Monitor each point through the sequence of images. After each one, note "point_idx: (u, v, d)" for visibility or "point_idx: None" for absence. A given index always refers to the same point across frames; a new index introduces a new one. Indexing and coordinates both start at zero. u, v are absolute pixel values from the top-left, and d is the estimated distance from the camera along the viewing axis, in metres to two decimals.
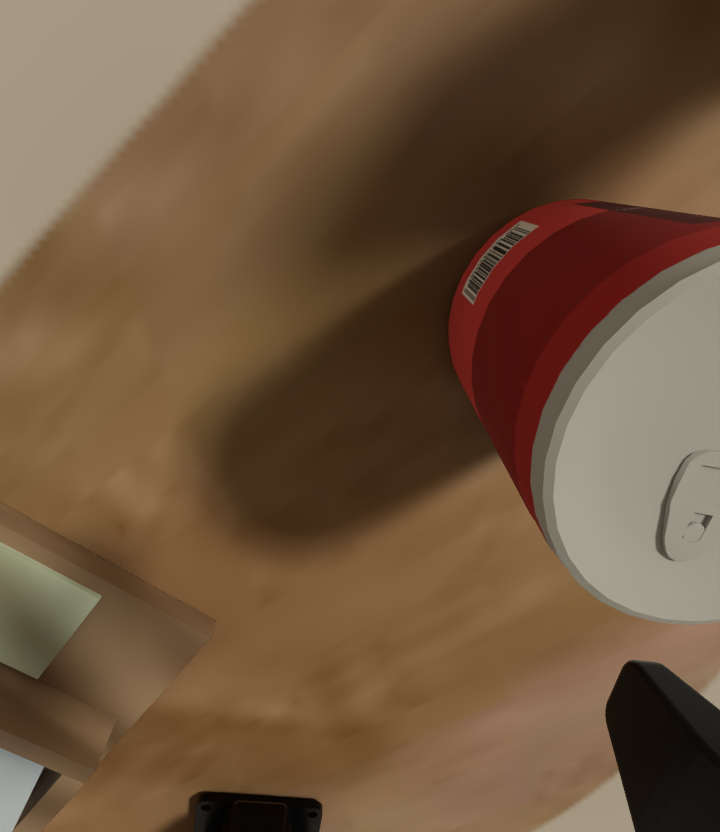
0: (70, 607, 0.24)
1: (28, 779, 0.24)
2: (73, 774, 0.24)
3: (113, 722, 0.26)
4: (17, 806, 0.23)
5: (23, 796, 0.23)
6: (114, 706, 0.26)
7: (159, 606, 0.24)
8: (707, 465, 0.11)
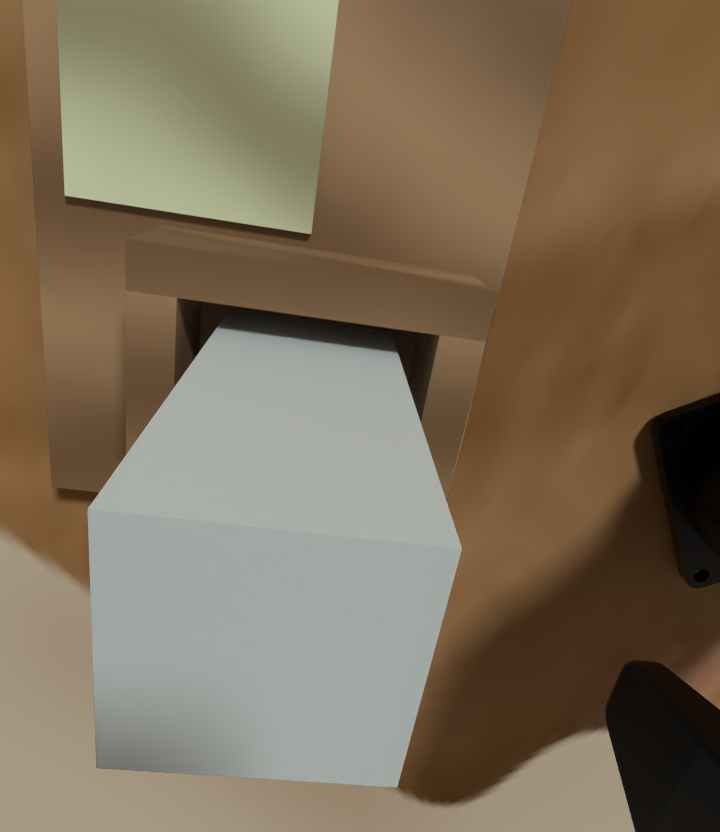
0: (301, 2, 0.12)
1: (386, 364, 0.12)
2: (459, 326, 0.12)
3: (470, 274, 0.14)
4: (395, 380, 0.11)
5: (395, 374, 0.12)
6: (458, 245, 0.14)
7: None
8: None
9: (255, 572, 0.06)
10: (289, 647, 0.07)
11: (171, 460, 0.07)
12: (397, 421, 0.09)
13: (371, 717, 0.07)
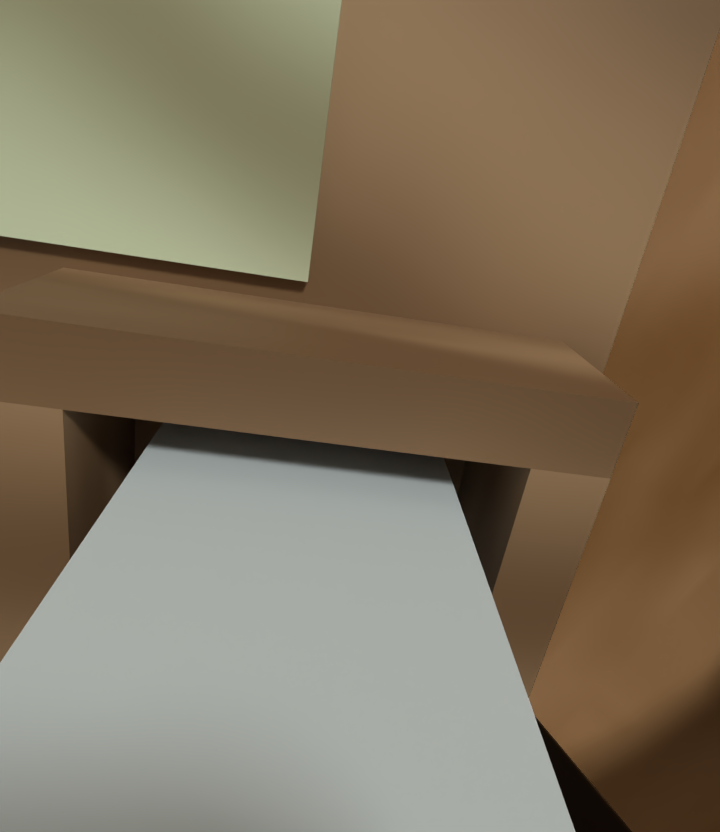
0: None
1: (438, 520, 0.07)
2: (566, 454, 0.07)
3: (563, 345, 0.09)
4: (464, 577, 0.06)
5: (459, 553, 0.06)
6: (544, 297, 0.09)
7: None
8: None
9: None
10: None
11: None
12: (495, 750, 0.04)
13: None
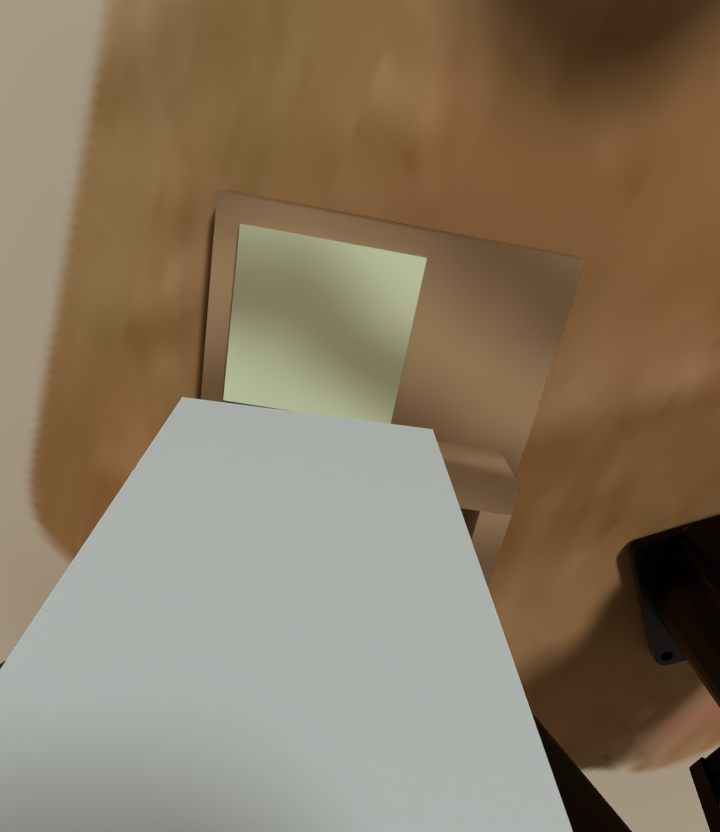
0: (395, 290, 0.18)
1: (438, 524, 0.07)
2: (493, 506, 0.18)
3: (500, 453, 0.20)
4: (463, 581, 0.06)
5: (459, 557, 0.06)
6: (492, 433, 0.20)
7: (501, 244, 0.17)
8: None
9: None
10: None
11: None
12: (496, 754, 0.04)
13: None
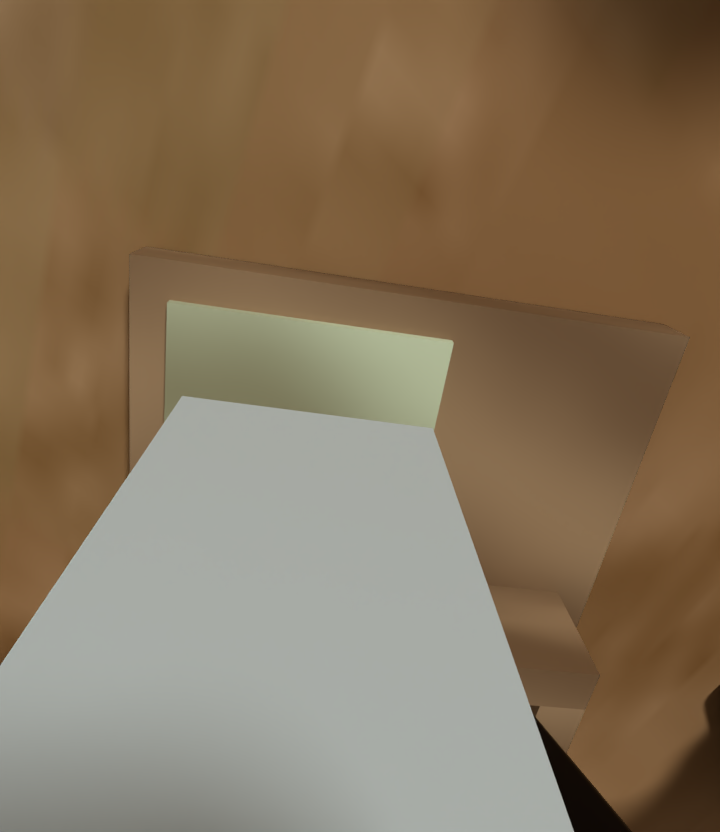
0: (406, 390, 0.12)
1: (438, 523, 0.07)
2: (560, 699, 0.12)
3: (558, 599, 0.14)
4: (464, 580, 0.06)
5: (459, 556, 0.06)
6: (547, 570, 0.14)
7: (564, 317, 0.12)
8: None
9: None
10: None
11: None
12: (496, 754, 0.04)
13: None
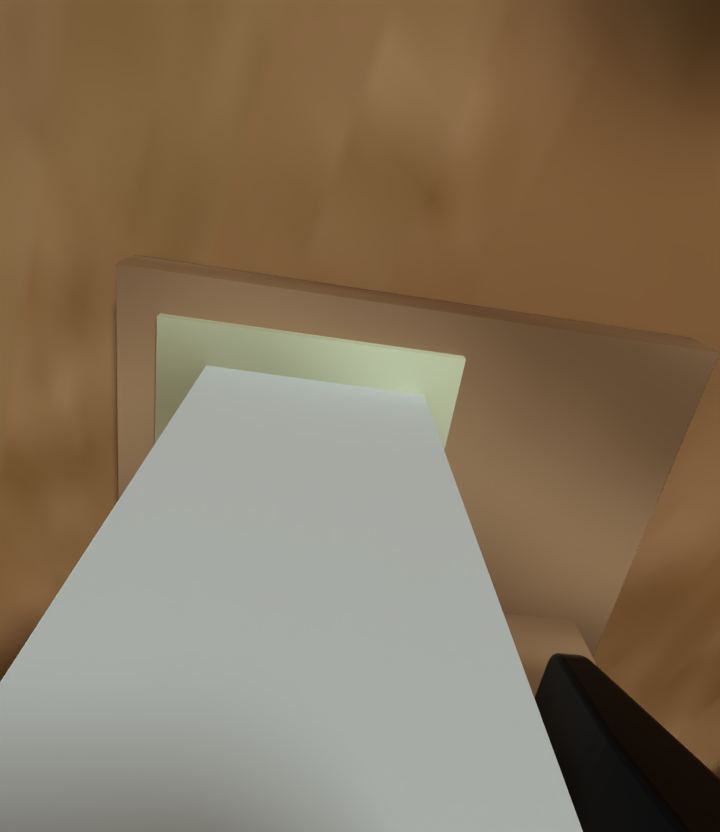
0: None
1: (426, 464, 0.08)
2: None
3: (575, 628, 0.13)
4: (445, 502, 0.07)
5: (442, 487, 0.08)
6: (562, 598, 0.13)
7: (584, 331, 0.11)
8: None
9: None
10: None
11: (24, 809, 0.03)
12: (463, 608, 0.06)
13: None
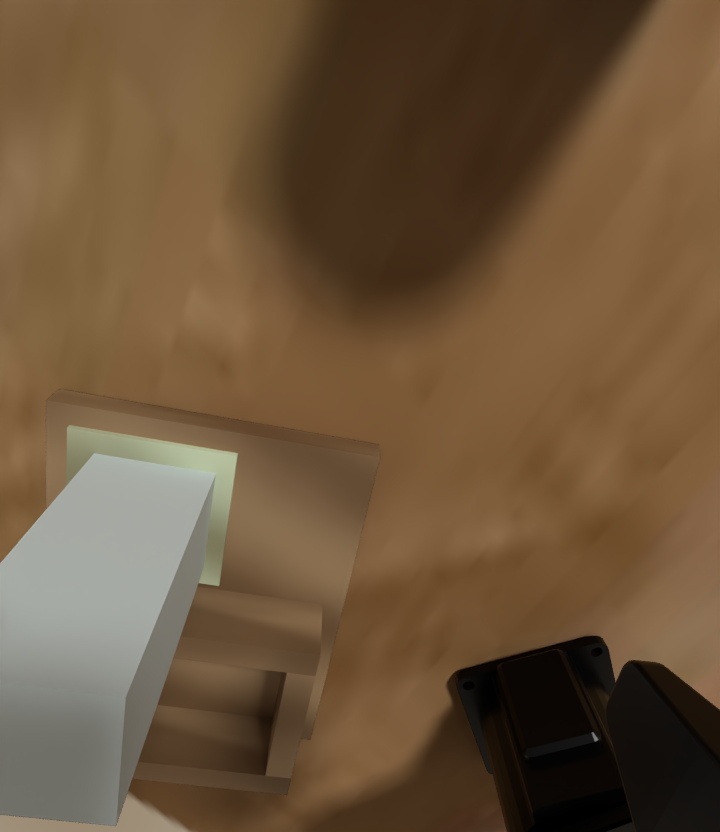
0: None
1: (186, 517, 0.17)
2: (298, 668, 0.20)
3: (320, 608, 0.22)
4: (179, 538, 0.16)
5: (184, 530, 0.17)
6: (313, 590, 0.22)
7: (306, 442, 0.20)
8: None
9: (7, 705, 0.11)
10: (34, 745, 0.12)
11: None
12: (154, 583, 0.14)
13: (91, 784, 0.12)
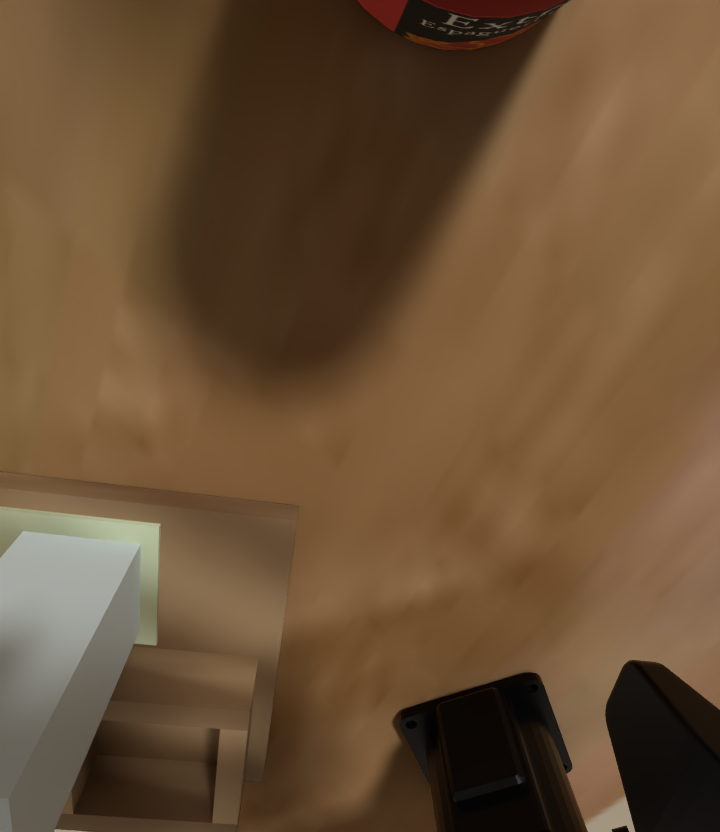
0: None
1: (102, 596, 0.18)
2: (230, 725, 0.21)
3: (256, 662, 0.23)
4: (91, 620, 0.17)
5: (97, 610, 0.17)
6: (248, 645, 0.23)
7: (225, 510, 0.21)
8: None
9: None
10: None
11: None
12: (58, 671, 0.15)
13: None
